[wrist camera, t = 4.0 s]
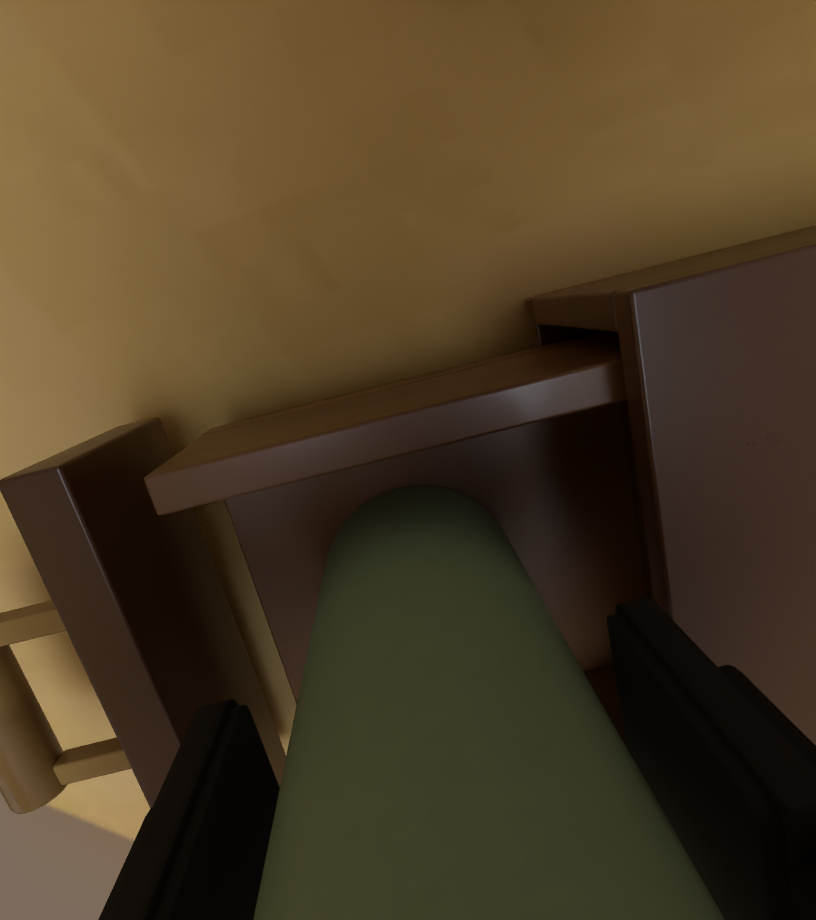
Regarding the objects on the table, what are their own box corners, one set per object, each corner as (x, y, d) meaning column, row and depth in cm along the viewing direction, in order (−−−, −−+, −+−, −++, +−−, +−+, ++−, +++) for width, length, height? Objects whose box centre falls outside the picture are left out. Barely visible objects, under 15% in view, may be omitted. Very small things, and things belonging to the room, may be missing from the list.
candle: (301, 511, 14) (-183, 1811, 2) (492, 463, 14) (1262, 1493, 2) (353, 674, 15) (262, 2046, 3) (527, 631, 15) (1103, 1867, 3)
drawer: (112, 800, 17) (18, 973, 13) (-52, 468, 14) (-251, 542, 10) (667, 665, 17) (771, 792, 13) (620, 300, 14) (735, 296, 10)
